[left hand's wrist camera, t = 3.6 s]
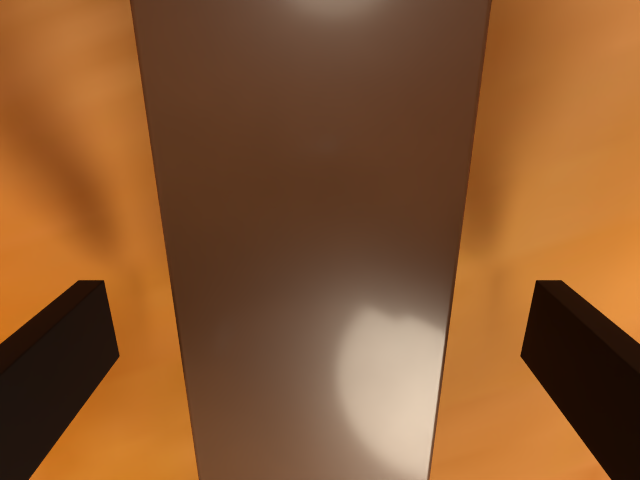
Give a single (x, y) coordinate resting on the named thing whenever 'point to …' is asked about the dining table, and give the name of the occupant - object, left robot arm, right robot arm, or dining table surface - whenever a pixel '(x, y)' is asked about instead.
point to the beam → (312, 222)
